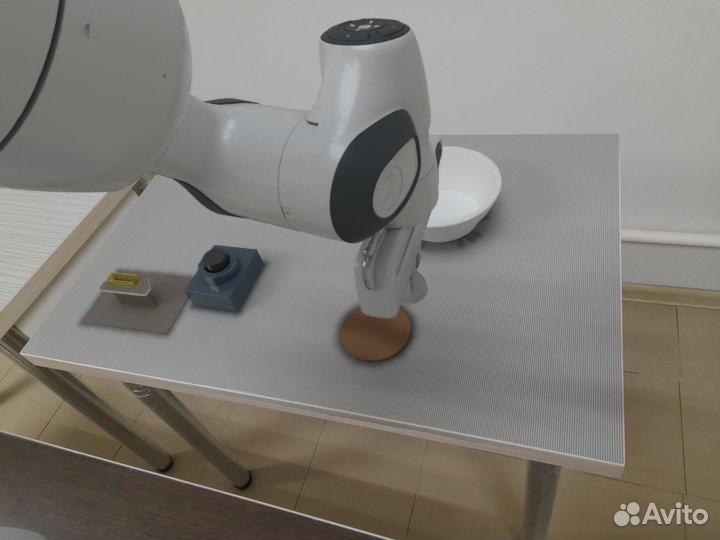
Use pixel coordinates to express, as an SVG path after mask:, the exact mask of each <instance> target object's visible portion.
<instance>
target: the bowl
mask: <svg viewBox="0 0 720 540" xmlns="http://www.w3.org/2000/svg"><path fill="white" fill-rule="evenodd" d="M442 146H443V150H442V156H441V160H440V164H439V187H438V190H439V197H438V202H437V204H436V206H435V207H434V209H433V210H432V212H431V215H430V218H429V221H428V224H427V227H426V230H425V233H424V236H423V239H422V241H425V242H431V243H447V242H451V241H455V240H458V239H461V238H463V237H464V236H466V235H468V234H469V233H471V232H472V231H473V230H474V229H475V228H476V226H477V225H478V223H479V222H480V221H481V220H482V219H484V218H485V216H487V214H488V213H489V212H490V210H491V209H492V207H493V206H494V205H495V202H496V201H497V200H498V198H499V195H500V194H501V191H502V188H503V187H502V186H503V177H502V174H501V171H500V169H499V167H498V166H497V165H496V163H495V162H494V161H493V160H492V159H490V158H489V157H488V156H487V155H486V154H484V153H481V152H479V151H478V150H473V149H471V148H467V147H461V146H452V145H451V146H450V145H449V146H448V145H442Z"/></svg>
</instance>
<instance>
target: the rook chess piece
mask: <svg viewBox="0 0 720 540" xmlns="http://www.w3.org/2000/svg"><path fill="white" fill-rule="evenodd" d="M416 263H417V262H416V260H415V263H414V266H413V269H412V272H411V275H410V277H412V283H413V286H412V289H411V292H410V295H408V296H405V295H404V296H403V299H402V302H401V305H406V306H412V305H416V304H418V303H420V302H421V301H423V300H424V299H425V298H426V296H427V295H428V291H429V287H428V283H427V280H426V277H424V275H423V274H422V273H420V271H418V268H417V269H416Z"/></svg>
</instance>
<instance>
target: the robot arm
mask: <svg viewBox="0 0 720 540" xmlns="http://www.w3.org/2000/svg"><path fill="white" fill-rule="evenodd" d="M318 58H319V68H320V76H321V82H320V86H319V90H318V93H317V95H316V98H315V100H314V102H313V105H312V106H311V108H310V110H308V109H300V108H293V107H283V106H276V105H268V104H262V103H260V102H257V101H256V102H255V101H250V100H245V99H240V98H233V97H225V98H215V99H210V100H209V99H208V100H202V99H200V98H198V97H196V96H194V95H193V94H191V92H192V91H191V90H192V83H193V82H192V81H193V54H192V45H191V39H190V33H189V29H188V26H187V21H186V17H185V15H184V11H183V9H182V5H181V3H180V0H0V189H6V190H7V189H8V190H15V191H29V192H42V193H45V192H46V193H72V194H73V193H74V194H75V193H78V194H80V193H82V194H83V193H114V192H119V191H123V190H124V189H126V188H128V187H129V186H131V185H132V184H134V183H136V182H138V181H139V180H140V179H142V178H143V177H144V176H145V175H146V174H147V173H151V174H155V175H159V176H162V177H165V178H168V179H172V180H173V181H175V182H176V183H178V184H179V185H180V186H181V187H182V188H184V189H185V190H186V192H188V193H189V194H190V195H191V196H192V197H193V198H194V199H195V200H196V201H197V202H198V203H199V204H201V205H202V206H203V207H204V208H206V209H207V210H208V211H211V212H212V213H215V214H217V215H220V216H227V217H234V218H239V219H246V220H252V221H257V222H259V223H263V224H268V225H272V226H276V227H279V228H282V229H283V228H284V229H287V230H290V231H295V232H299V233H304V234H307V235H311V236H316V237H320V238H323V239H328V240H332V241H338V242H342V243H347V244H358V243H360V246H359V248H358V250H357V253H356V256H355V259H354V266H353V274H354V283H355V291H356V296H357V299H358V304H359V306H360V309H361V311H362V313H364V314H365V315H368V316H372V317H377V318H386V319H389V318H395V317H396V316H397V314H398V312H399V309H400V308H401V306H402V304H401V302H402V299H403V296H404V295H405V296H408V295H410V292H411V289H412V286H413V283H412V277H410V275H411V272H412V269H413V266H414V263H415V260H416V262H417V263H416V269H417V270H418V268H419V267H420V264H421V261H422V251H421V249H422V242H423V240H422V239H423V236H424V233H425V230H426V227H427V224H428V221H429V218H430V215H431V212H432V210H433V209H434V207H435V206H436V204H437V202H438V197H439V190H438V187H439V164H440V160H441V156H442V150H443V146H444V145H443V139H442V136H440V135H435V134H429V133H430V127H431V122H432V109H431V100H430V92H429V86H428V79H427V74H426V73H427V72H426V68H425V64H424V59H423V56H422V51H421V48H420V44H419V42H418V38H417V36H416V34H415V32H414V30H413V29H412V28H411V26H409V25H408V24H406V23H404V22H402V21H400V20H398V19H391V18H378V17H377V18H375V17H373V18H371V17H369V18H367V17H366V18H360V19H350V20H346V21H343V22H340V23H337V24H335V25H332V26H330V27H329V28H328V29H327V30H325V31H324V32H322V33H321V35H320V36H319V38H318ZM0 540H48V538H46V536H44V535H43V534H40V533H39V532H36V531H33V530H29V529H26V528H21V527H15V526H0Z"/></svg>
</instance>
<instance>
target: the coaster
mask: <svg viewBox="0 0 720 540" xmlns="http://www.w3.org/2000/svg"><path fill="white" fill-rule="evenodd" d="M411 334H412V324H411V321H410V318H409V315H408V314H407V312H406V311H405V310H404V309H403V308H402V307H400V309H399V312H398V314H397V316H396V317H395V318H389V319H386V318H377V317H372V316H368V315H365V314H364V313H362V311H361V309H360V305H359V306H358V307H355V308H354V309H353V310H352V311H350V313H349V314H347V315H346V317H345V319H344V320H343V322H342V324H341V327H340V340H341V344H342V346H343V348H344V350H345V351H346V352H347V353H348V354H349V355H350V356H351V357H353V358H355V359H357V360H359V361H362V362H367V363H376V362H383V361H386V360H388V359H391V358H393V357H395V356H396V355H398V354H399V353H400V352H401V351H403V349H404V348H405V347H406V346H407V344H408V342H409V341H410V338H411Z"/></svg>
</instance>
